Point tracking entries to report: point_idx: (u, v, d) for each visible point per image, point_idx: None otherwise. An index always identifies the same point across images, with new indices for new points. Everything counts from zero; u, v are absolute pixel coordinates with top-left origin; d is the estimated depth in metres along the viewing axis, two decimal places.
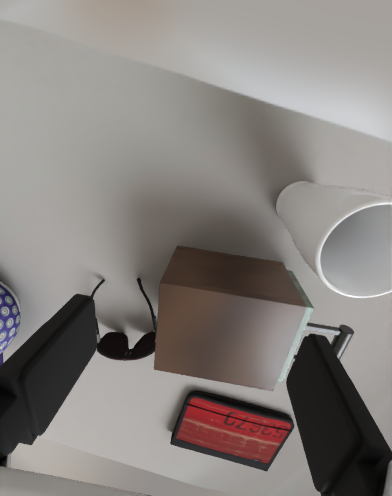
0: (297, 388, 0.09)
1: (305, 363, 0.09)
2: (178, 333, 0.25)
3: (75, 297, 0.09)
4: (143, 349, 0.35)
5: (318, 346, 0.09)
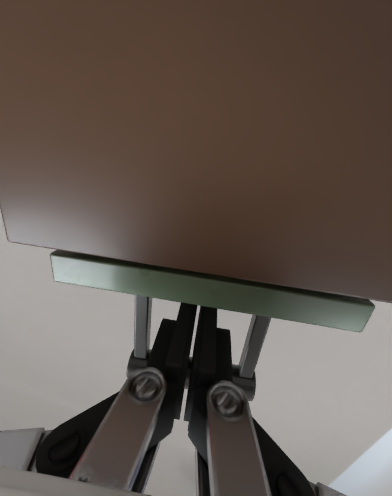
0: (194, 345, 0.11)
1: (198, 322, 0.10)
2: None
3: None
4: None
5: (205, 306, 0.10)
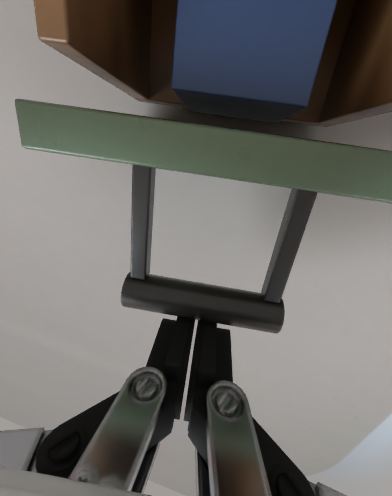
0: (194, 345, 0.11)
1: (198, 322, 0.10)
2: None
3: None
4: None
5: None
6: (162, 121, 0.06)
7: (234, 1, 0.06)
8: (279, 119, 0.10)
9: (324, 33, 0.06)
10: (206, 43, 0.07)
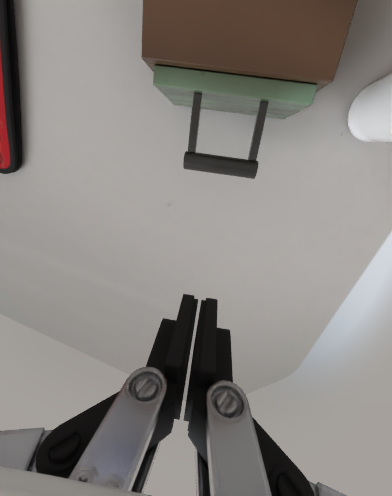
0: (194, 345, 0.11)
1: (198, 322, 0.10)
2: None
3: (185, 297, 0.10)
4: None
5: (205, 306, 0.10)
6: (209, 72, 0.16)
7: None
8: None
9: None
10: None
